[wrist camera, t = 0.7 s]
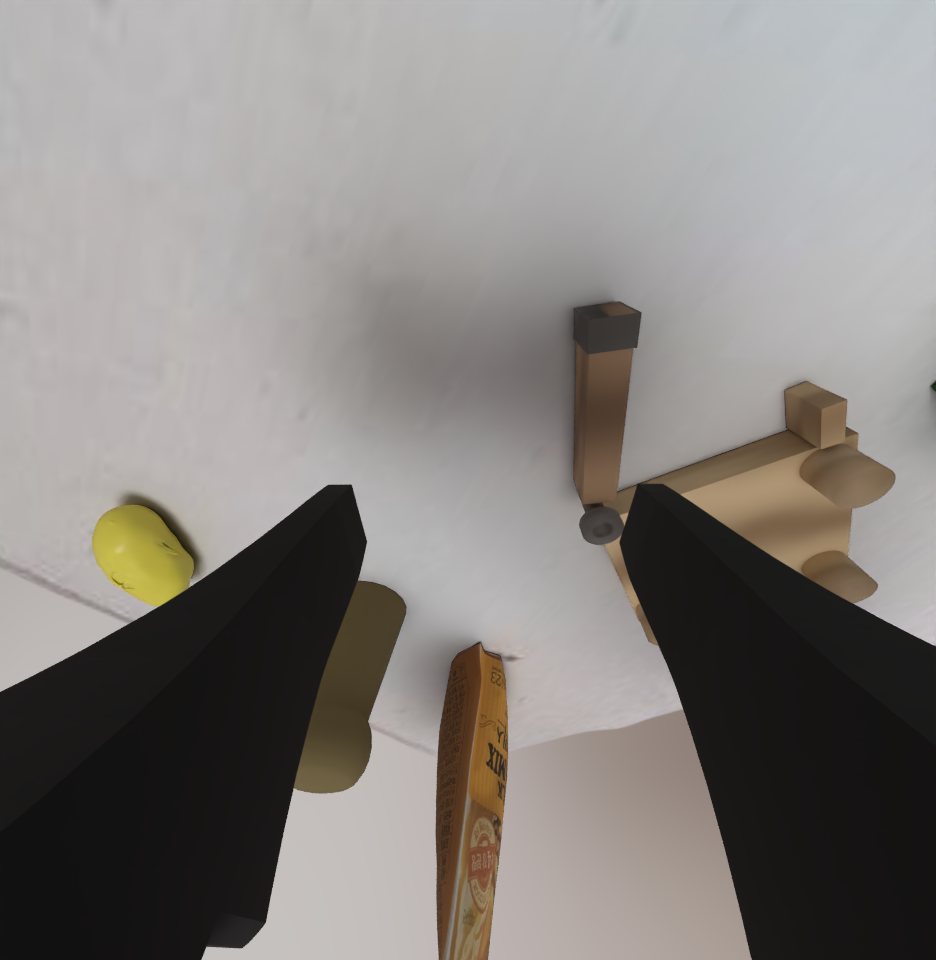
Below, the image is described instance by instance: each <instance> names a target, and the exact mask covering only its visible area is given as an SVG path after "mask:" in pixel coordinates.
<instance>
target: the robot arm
mask: <svg viewBox="0 0 936 960" xmlns="http://www.w3.org/2000/svg"><path fill="white" fill-rule="evenodd" d="M366 544H367V540H366V536H365V533H364V529H363V525H362V522H361V518H360V514H359V510H358V507H357V503H356V499H355V495H354V492H353V488H352V485H327V486H326V487H324V488H323V489H322V490H320V491H319V492H318V493H316V494H315V495H314V496H312V497H311V498H310V499H309V500H307V501H306V502H305V503H304V504H302V505H301V506H300V507H299V508H297V509H296V510H295V511H294V512H292V513H291V514H290V515H289V516H287V517H286V518H285V519H283V520H282V521H281V522H280V523H278V524H277V525H276V526H274V527H273V528H272V529H271V530H269V531H268V532H267V533H266V534H264V535H263V536H262V537H260V538H259V539H258V540H256V541H255V542H254V543H252V544H251V545H249V546H248V547H247V548H245V549H244V550H243V551H241V552H240V553H238V554H237V555H236V556H234V557H233V558H232V559H230V560H229V561H227V562H226V563H225V564H223V565H222V566H221V567H219V568H218V569H216V570H215V571H213V572H212V573H211V574H209V575H208V576H206V577H205V578H203V579H202V580H200V581H199V582H197V583H196V584H194V585H193V586H191V587H189V588H188V589H186V590H185V591H183V592H181V593H180V594H178V595H177V596H175V597H173V598H172V599H170V600H169V601H167V602H166V603H164V604H162V605H161V606H159V607H157V608H156V609H154V610H152V611H151V612H149V613H147V614H146V615H144V616H142V617H140V618H139V619H137V620H135V621H133V622H131V623H130V624H128V625H126V626H124V627H123V628H121V629H119V630H117V631H115V632H114V633H112V634H110V635H108V636H107V637H105V638H103V639H101V640H99V641H98V642H96V643H94V644H92V645H91V646H89V647H87V648H85V649H83V650H82V651H80V652H78V653H76V654H74V655H72V656H70V657H68V658H67V659H65V660H63V661H61V662H59V663H57V664H55V665H53V666H51V667H49V668H47V669H45V670H43V671H41V672H39V673H37V674H36V675H34V676H32V677H30V678H28V679H26V680H24V681H22V682H19V683H18V684H15V685H13V686H12V687H9V688H7V689H5V690H3V691H1V692H0V960H201V959H202V957H203V954H204V951H205V949H206V947H225V948H243V947H244V946H245V945H247V944H248V943H249V942H250V941H251V940H252V939H253V937H254V936H255V935H256V934H257V933H258V932H259V931H260V929H261V928H262V927H263V926H264V924H265V923H266V919H267V913H268V908H269V902H270V897H271V892H272V887H273V882H274V877H275V872H276V867H277V862H278V857H279V852H280V847H281V842H282V838H283V832H284V828H285V823H286V819H287V815H288V810H289V806H290V801H291V797H292V793H293V788H294V784H295V780H296V775H297V771H298V767H299V763H300V759H301V755H302V751H303V747H304V743H305V739H306V735H307V731H308V727H309V723H310V719H311V716H312V712H313V708H314V705H315V701H316V697H317V694H318V690H319V686H320V683H321V679H322V676H323V673H324V670H325V667H326V664H327V661H328V658H329V656H330V653H331V650H332V648H333V645H334V642H335V640H336V637H337V635H338V632H339V629H340V627H341V624H342V621H343V619H344V616H345V613H346V611H347V608H348V605H349V603H350V600H351V597H352V595H353V592H354V589H355V587H356V584H357V581H358V578H359V575H360V571H361V567H362V562H363V558H364V553H365V549H366ZM619 544H620V548H621V552H622V555H623V559H624V563H625V566H626V569H627V573H628V576H629V579H630V581H631V584H632V586H633V589H634V591H635V593H636V595H637V598H638V600H639V602H640V605H641V607H642V609H643V612H644V614H645V616H646V618H647V621H648V623H649V625H650V627H651V630H652V632H653V634H654V636H655V639H656V641H657V643H658V645H659V648H660V650H661V652H662V654H663V657H664V659H665V661H666V663H667V666H668V668H669V671H670V673H671V676H672V678H673V681H674V683H675V686H676V689H677V692H678V695H679V698H680V701H681V704H682V707H683V710H684V713H685V716H686V719H687V722H688V725H689V728H690V731H691V734H692V736H693V740H694V743H695V747H696V750H697V753H698V757H699V760H700V763H701V766H702V770H703V773H704V776H705V780H706V783H707V786H708V790H709V793H710V797H711V800H712V804H713V808H714V811H715V815H716V819H717V822H718V826H719V829H720V833H721V836H722V840H723V844H724V847H725V851H726V855H727V859H728V863H729V867H730V871H731V875H732V879H733V883H734V887H735V891H736V895H737V899H738V903H739V907H740V911H741V916H742V920H743V924H744V929H745V933H746V937H747V942H748V946H749V950H750V955H751V958H752V960H936V646H934V645H932V644H930V643H928V642H925V641H923V640H921V639H919V638H917V637H915V636H913V635H911V634H909V633H907V632H905V631H904V630H902V629H900V628H898V627H896V626H894V625H892V624H890V623H888V622H886V621H884V620H882V619H880V618H878V617H877V616H875V615H873V614H871V613H869V612H867V611H866V610H864V609H862V608H860V607H858V606H857V605H855V604H853V603H851V602H849V601H847V600H846V599H844V598H842V597H840V596H838V595H836V594H835V593H833V592H831V591H829V590H828V589H826V588H824V587H822V586H821V585H819V584H817V583H815V582H814V581H812V580H810V579H809V578H807V577H805V576H804V575H802V574H800V573H799V572H797V571H796V570H794V569H792V568H791V567H789V566H787V565H786V564H784V563H783V562H781V561H779V560H778V559H776V558H774V557H773V556H771V555H770V554H768V553H767V552H765V551H764V550H762V549H760V548H759V547H757V546H756V545H754V544H753V543H751V542H750V541H748V540H747V539H745V538H744V537H742V536H741V535H739V534H738V533H736V532H735V531H733V530H732V529H730V528H729V527H727V526H726V525H724V524H723V523H721V522H720V521H718V520H717V519H716V518H714V517H713V516H711V515H710V514H708V513H707V512H705V511H704V510H702V509H701V508H700V507H698V506H697V505H695V504H694V503H692V502H691V501H689V500H688V499H686V498H685V497H683V496H682V495H680V494H679V493H677V492H676V491H674V490H673V489H671V488H669V487H668V486H666V485H664V484H637V487H636V491H635V494H634V497H633V500H632V503H631V507H630V510H629V513H628V516H627V519H626V522H625V526H624V529H623V532H622V535H621V538H620V542H619Z"/></svg>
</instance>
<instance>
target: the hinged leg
mask: <svg viewBox="0 0 936 960" xmlns="http://www.w3.org/2000/svg"><path fill="white" fill-rule="evenodd" d="M640 320H641V312H639V311H637V310H635V309H633V308H631V307H629V306H627V305H625V304H624V303H622V302H613V303H607V304H600V305H594V306H588V307H581V308H575V309H574V340H575V341H576V342H577V344H576V387H575V430H574V472H573V479H574V482H575V485H576V488H577V490H578V493H579V496H580V498H581V501H582V504H593V503H603V502H614V501H616V497H617V488H618V480H619V471H620V462H621V453H622V444H623V435H624V426H625V417H626V409H627V400H628V391H629V382H630V373H631V364H632V355H633V348H637V345H638V337H639V328H640Z"/></svg>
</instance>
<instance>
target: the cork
mask: <svg viewBox="0 0 936 960" xmlns="http://www.w3.org/2000/svg"><path fill="white" fill-rule="evenodd" d="M405 615H406V605H405V603H404V601H403V599H402V598H401V597H400V596H399V595H398V594H397V593H396V592H394V591H393V590H391V589H389V588H387V587H386V586H383V585H380V584H376V583H373V582H364V581H357V584H356V587H355V589H354V592H353V595H352V597H351V600H350V603H349V605H348V608H347V611H346V613H345V616H344V619H343V621H342V624H341V627H340V629H339V632H338V635H337V637H336V640H335V642H334V645H333V648H332V650H331V653H330V656H329V658H328V661H327V664H326V667H325V670H324V673H323V676H322V679H321V683H320V686H319V690H318V694H317V697H316V701H315V705H314V708H313V712H312V716H311V719H310V723H309V727H308V731H307V735H306V739H305V743H304V747H303V751H302V755H301V759H300V763H299V767H298V771H297V775H296V780H295V784H294V788H295V789H297V790H301V791H304V792H310V793H334V792H340V791H344V790H346V789H348V788H350V787H352V786H354V784H355V783H356V782H357V781H358V779H359V778H360V777H361V776H362V774H363V773H364V771H365V769H366V766H367V764H368V762H369V758H370V753H371V748H372V744H371V742H372V740H371V739H372V735H371V729H370V726H369V723H368V720H369V717H370V714H371V711H372V708H373V706H374V703H375V700H376V697H377V694H378V691H379V689H380V686H381V683H382V680H383V677H384V674H385V672H386V669H387V666H388V663H389V660H390V658H391V655H392V652H393V649H394V646H395V643H396V641H397V638H398V635H399V632H400V629H401V626H402V624H403V621H404V618H405Z"/></svg>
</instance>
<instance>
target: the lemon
mask: <svg viewBox="0 0 936 960" xmlns="http://www.w3.org/2000/svg"><path fill="white" fill-rule="evenodd" d="M92 548H93V552H94V556H95V559H96V562H97V564H98V566H99V567H100V568H101V569H102V571H103V572H104V573H105V575H106V576H107V578H108V579H109V580H110V582H112V583H113V584H114V585H116V586H117V587H119V588H121V589H122V590H124V591H125V592H127V593H128V594H130V595H132V596H133V597H135V598H137V599H139V600H141V601H143V602H145V603H147V604H149V605H153V606H158V607H159V606H161V605H162V604H164V603H166V602H167V601H169V600H170V599H172V598H173V597H175V596H177V595H178V594H180V593H181V592H183V591H185V590H186V589H188V588H189V584H190V579H191V576H192V574H193V571H194V562H193V559H192V557H191V556H190V555H189V554H188V553H187V552H186V551H185V550H184V549H183V547H182V546H181V544H180V543H179V541H178V539H177V538H176V537H175V535H174V534H173V533H172V532H171V531H170V530H169V529H168V527H167V526H166V525H165V523H164V522H163V520H162V519H161V518H160V517H159V516H158V515H157V514H156V513H155V512H154V511H152V510H150V509H149V508H146V507H144V506H140V505H123V506H119V507H116V508H113V509H111V510H109V511H107V512H106V513H105V514H103V515H102V516H101V518H100V519H99V520H98V522H97V524H96V526H95V529H94V532H93V537H92Z"/></svg>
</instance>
